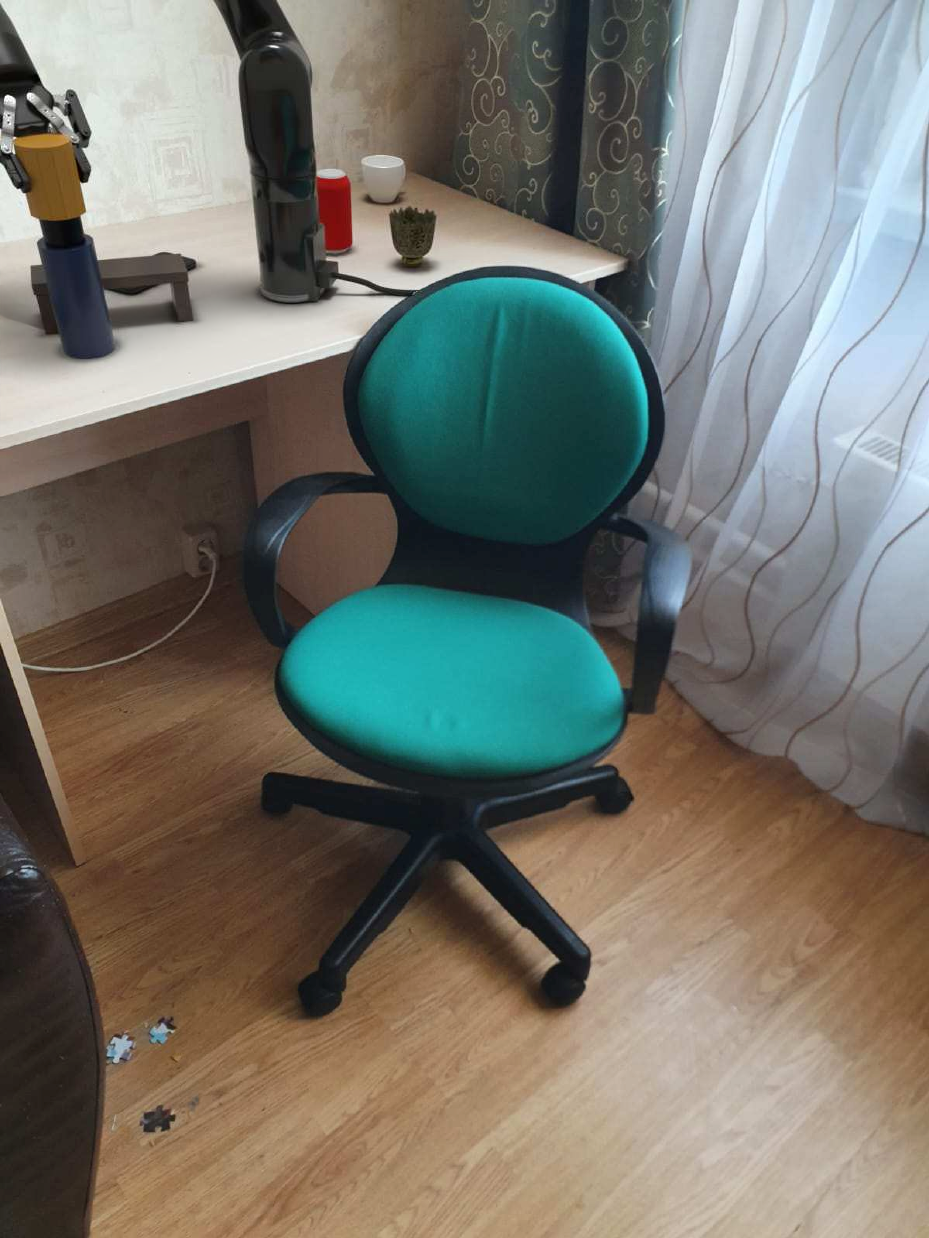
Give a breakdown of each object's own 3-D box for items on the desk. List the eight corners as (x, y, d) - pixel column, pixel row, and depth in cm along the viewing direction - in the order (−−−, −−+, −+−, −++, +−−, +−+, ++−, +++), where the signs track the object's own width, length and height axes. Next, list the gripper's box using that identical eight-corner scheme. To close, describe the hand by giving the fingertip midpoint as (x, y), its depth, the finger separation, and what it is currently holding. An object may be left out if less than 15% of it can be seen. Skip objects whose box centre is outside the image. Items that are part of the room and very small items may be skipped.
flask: (124, 340, 129) (96, 206, 117) (101, 361, 124) (70, 223, 112) (78, 335, 129) (46, 201, 118) (53, 355, 124) (18, 217, 113)
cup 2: (443, 262, 156) (444, 211, 150) (422, 276, 150) (423, 224, 145) (402, 253, 158) (402, 203, 153) (381, 267, 153) (380, 216, 147)
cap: (95, 206, 117) (80, 135, 112) (70, 222, 112) (53, 149, 107) (47, 201, 118) (30, 131, 113) (20, 217, 113) (1, 145, 108)
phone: (199, 260, 149) (131, 290, 139) (200, 265, 150) (132, 295, 140) (162, 250, 152) (93, 279, 142) (163, 256, 152) (94, 284, 142)
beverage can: (308, 247, 158) (303, 171, 150) (338, 240, 161) (335, 165, 153) (329, 259, 155) (325, 180, 147) (360, 251, 158) (358, 174, 150)
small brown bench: (188, 301, 139) (180, 253, 135) (194, 320, 134) (187, 271, 130) (42, 315, 134) (30, 265, 129) (44, 335, 129) (31, 284, 124)
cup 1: (353, 199, 178) (352, 161, 174) (388, 188, 184) (388, 150, 180) (385, 209, 175) (384, 169, 170) (419, 197, 181) (420, 159, 177)
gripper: (-74, 35, 104) (-2, 176, 105) (55, 24, 111) (120, 156, 112) (-74, 80, 110) (-7, 213, 111) (47, 67, 118) (109, 191, 119)
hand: (57, 184), depth 112 cm, fingers closed on cap, 6 cm apart
